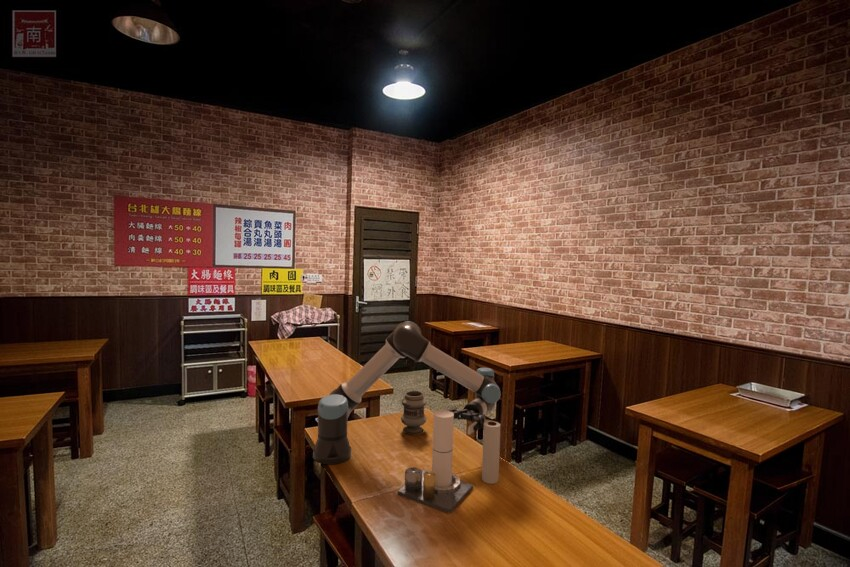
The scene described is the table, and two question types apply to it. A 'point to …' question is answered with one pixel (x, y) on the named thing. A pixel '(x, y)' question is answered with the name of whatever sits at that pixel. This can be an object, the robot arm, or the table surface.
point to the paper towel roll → (491, 451)
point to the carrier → (433, 490)
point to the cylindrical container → (442, 447)
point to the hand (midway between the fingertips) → (452, 426)
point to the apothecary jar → (413, 412)
